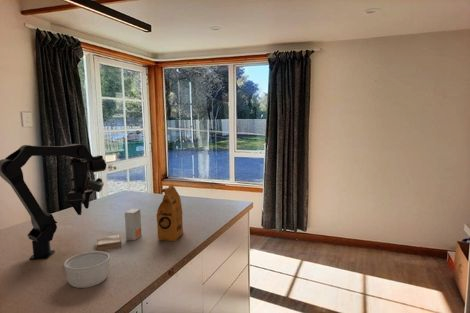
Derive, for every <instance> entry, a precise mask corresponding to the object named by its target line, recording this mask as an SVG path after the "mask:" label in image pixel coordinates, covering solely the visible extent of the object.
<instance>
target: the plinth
mask: <svg viewBox="0 0 470 313" xmlns="http://www.w3.org/2000/svg"><path fill="white" fill-rule="evenodd" d="M121 248H122V236H121V233H119V234H112V235H105V236H97V239H96V251H102V252H104V251H109V250H115V249H121Z"/></svg>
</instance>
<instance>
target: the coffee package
mask: <svg viewBox="0 0 470 313" xmlns="http://www.w3.org/2000/svg"><path fill="white" fill-rule="evenodd" d="M161 193H163V194H164V195H163V198H162V201H161V202H160V203H159V206H158V208H157V212H156V224H157V226H156V228H157V238H158V240H159V241H166V242H168V241H169V242H174V241H175V242H176V241H178V238H179V237H182V235H183V233H184V226H183V208H182V206H183V205H182V199H181V197H180V195H179V192H178V191H177V189H176V187H175V186H174V184H173V183H170V184H168V187H165V188H162V190H161Z"/></svg>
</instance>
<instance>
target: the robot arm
mask: <svg viewBox="0 0 470 313" xmlns="http://www.w3.org/2000/svg"><path fill="white" fill-rule="evenodd" d="M40 156H41V157H45V156H46V157H57V156H58V157H60V156H61V157H67V158H69V159H68V160H67V161H66V162H65V165H67V166H71V174H72V177H71V178H70V181H71V182H72V186H73V187H72V188H71V191H69V192H68V193H67V194H65V201H67V202H68V203H69V205H71V206H72V208H73V209H74V211H75V213H76V214H77V215H78V216H82V210H83V209H82V208H83V206H84V209H87V210H88V209H89V207H90V200H91V197H92V195H93V194H94V193H95V192H96V193H100V192H101V191H102V190H103V186H104V185H105V184H104V183H105V182H103V178H100V177H97V179H91V176H90V175H88V174H89V173H91V174H92V173H97V172H105V171H106V169H107V163H106V161H105V159H104V156H103V155H95V156H93V155H92V153H90V152H89V149H88V147H87V145H85V144H83V143H81V144H80V143H72V144H71V143H70V144H65V145H59V146H58V145H57V146H55V145H54V146H52V145H45V146H44V145H30V144H23V145H21V146H20V147H19V148H18V149H17V150H15V151H13V152H11V153H10V154H9V155H8V156H6V157H5V158H3V159H0V177H1V179H3V180H4V181H5V182H6V183H7V184H8V185H10V187H11V188H12V190H13V191H14V193H15V195H16V197H18V199H19V201H20V203H22V205H23V207H24V209H25V210H26V211H27V214H28V215H29V216H30V221H31V226H32V228H31V230H30V231H29V232H28V233H27V237H28V239H29V240H31V243H32V254H33V255H30V257H29V260H40V259H42V260H43V259H48V258H50V256H52V254H54V253H55V249H51V241H53V238H54V234H55V233H56V232H57V229H58V225H57V224H58V221H56V220H55V218H54V216H53V214H52V213H49V212H47V211H43V209H42V207H41V206H40V204H39V203H38V201H37V199H36V198H35V196H34V195H33V193H32V191H31V190H30V188H29V186H28V185H27V183H26V182H25V178H24V173H23V170H22V168H23V167H24V166H26V164H27V163H28V161H29V160H30V158H32V157H40Z"/></svg>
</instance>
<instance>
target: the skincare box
mask: <svg viewBox="0 0 470 313" xmlns="http://www.w3.org/2000/svg"><path fill="white" fill-rule="evenodd" d="M141 216H142V215H141V209H140V208H131V209H128V210H127V211H125V212H124V221H125V240H127V241H137V239H139V238H140V237H142V236H143V235H142V234H143V233H142V220H141V219H142V217H141Z"/></svg>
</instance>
